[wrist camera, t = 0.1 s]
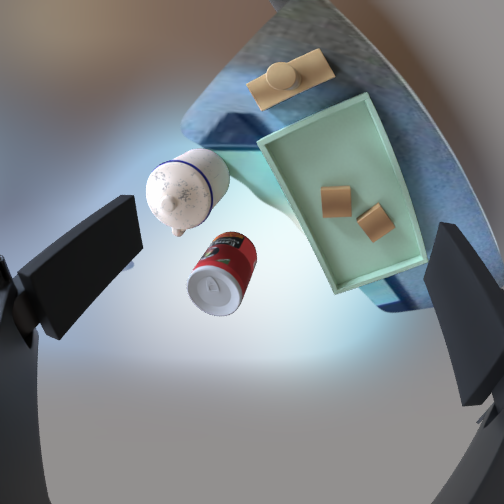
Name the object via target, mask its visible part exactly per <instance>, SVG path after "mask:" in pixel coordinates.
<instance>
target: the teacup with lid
mask: <svg viewBox="0 0 504 504" xmlns="http://www.w3.org/2000/svg"><path fill="white" fill-rule="evenodd" d="M229 183H230V175H229V170H228V168H227V165H226V164H225V162H224V161H223V159H222V158H221V157H220V156H219V155H217V154H216V153H214V152H213V151H210V150H207V149H201V148H199V149H193V150H190V151H188V152H186V153H184V154H183V155H180V156H178V157H177V158H175V159H173V160H170V161H167V162H164V163H162V164H160V165H159V166H157V167H156V168H155V169H154V170H153V172H152V173H151V175H150V177H149V179H148V181H147V186H146V197H147V201H148V205H149V207H150V209H151V210H152V212H153V214H154V215H155V216H156V217H157V218H158V219H159V220H160V221H161V222H162V223H164V224H166V225H167V226H169V227H172V233H173V235H175V236H177V237H180V236H181V235H183V233H184V232H185V231H186V229H190V228H194V227H196V226H198V225H200V224H202V222H204V221H205V220H206V219H207V217H208V216H209V214H210V212H211V210H212V209H213V208H214V206H215V205H216V204H217V203H218V202H219V201H220V199H222V197H223V196H224V195H225V194H226V192H227V190H228V187H229Z"/></svg>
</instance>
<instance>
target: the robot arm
mask: <svg viewBox="0 0 504 504" xmlns="http://www.w3.org/2000/svg"><path fill="white" fill-rule="evenodd" d="M142 249H143V245H142V239H141V233H140V228H139V222H138V216H137V211H136V204H135V198H134V195H120V196H119V197H117V198H116V199H114V200H113V201H111V202H110V203H108V204H107V205H105V206H104V207H102V208H101V209H99V210H98V211H96V212H95V213H93V214H92V215H90V216H89V217H88V218H86V219H85V220H83V221H82V222H81V223H79V224H78V225H76V226H75V227H74V228H72V229H71V230H70V231H69V232H67V233H66V234H64V235H63V236H62V237H60V238H59V239H58V240H56V241H55V242H54V243H52V244H51V245H50V246H49V247H47V248H46V249H45V250H44V251H42V252H41V253H40V254H38V255H37V256H36V257H35V258H34V259H32V260H31V261H30V262H29V263H27V264H26V265H25V266H24V267H23V268H21V269H20V270H19V271H18V272H17V273H18V274H17V275H16V276H15V277H14V278H13V279H12V277H11V274H10V272H9V269H8V267H7V264H6V262H5V259H4V257H3V256H2V255H0V504H51V502H50V500H49V497H48V492H47V487H46V482H45V476H44V470H43V463H42V455H41V446H40V436H39V424H38V408H37V407H38V405H37V359H38V357H37V356H38V340H39V335H38V331H37V330H36V328H35V327H36V326H37V325H38V324H39V323H41V325H42V328H43V329H44V331H45V333H46V335H48V336H50V337H52V338H55V339H57V340H60V339H61V338H62V337H63V336H64V335H65V333H66V332H67V331H68V330H69V329H70V328H71V326H72V325H73V324H74V323H75V322H76V321H77V319H78V318H79V317H80V316H81V315H82V314H83V313H84V311H85V310H86V309H87V308H88V307H89V306H90V305H91V304H92V302H93V301H94V300H95V299H96V298H97V297H98V296H99V295H100V294H101V292H102V291H103V290H104V289H105V288H106V287H107V286H108V285H109V284H110V283H111V281H112V280H113V279H114V278H115V277H116V276H117V275H118V274H119V273H120V272H121V271H122V270H123V269H124V268H125V267H126V266H127V265H128V264H129V263H130V261H131V260H132V259H133V258H134V257H135V256H136V255H137V254H138V253H139V252H140V251H141V250H142ZM424 282H425V284H426V287H427V289H428V292H429V295H430V297H431V300H432V303H433V306H434V308H435V311H436V314H437V317H438V320H439V323H440V326H441V329H442V332H443V335H444V338H445V342H446V345H447V348H448V352H449V355H450V359H451V362H452V365H453V370H454V373H455V377H456V381H457V385H458V389H459V393H460V398H461V402H462V406H473V405H481V404H483V402H484V401H485V400H486V399H487V398H488V396H489V395H490V394H491V393H492V395H493V398H494V403H493V404H492V405H491V406H490V407H489V408H488V410H487V411H486V412H485V413H484V414H483V415H482V416H481V417H480V418H479V420H478V421H477V422H476V423H478V424H479V423H480V422H481V421H482V420H483V421H482V423H481V425H480V427H479V429H478V431H477V433H476V435H475V437H474V438H473V440H472V442H471V444H470V446H469V448H468V449H467V451H466V453H465V454H464V456H463V458H462V459H461V461H460V463H459V464H458V466H457V467H456V469H455V471H454V472H453V474H452V475H451V477H450V478H449V480H448V481H447V483H446V484H445V485H444V487H443V488H442V490H441V491H440V493H439V494H438V495H437V497H436V498H435V499H434V501H433V502H432V503H431V504H504V290H503V289H500V287H499V286H498V284H497V283H496V281H495V280H494V278H493V276H492V275H491V273H490V272H489V270H488V269H487V267H486V266H485V264H484V263H483V261H482V260H481V259H480V257H479V256H478V254H477V253H476V251H475V250H474V249H473V247H472V246H471V244H470V243H469V242H468V240H467V239H466V238H465V236H464V235H463V234H462V232H461V231H460V230H459V228H458V227H457V226H456V225H455V224H450V223H443V222H440V223H439V227H438V231H437V235H436V239H435V242H434V246H433V249H432V253H431V256H430V260H429V263H428V266H427V269H426V272H425V276H424Z"/></svg>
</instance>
